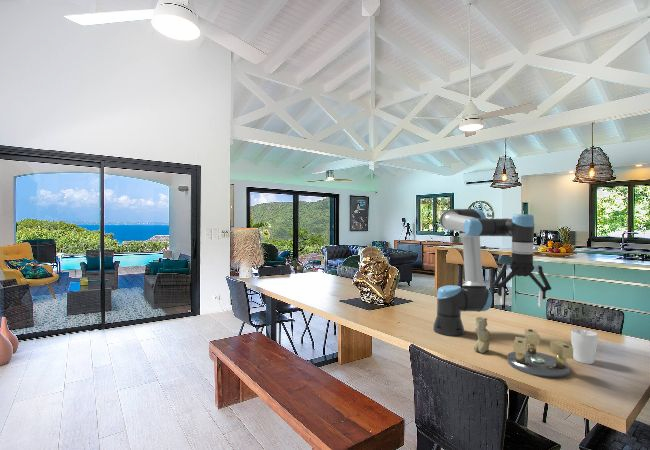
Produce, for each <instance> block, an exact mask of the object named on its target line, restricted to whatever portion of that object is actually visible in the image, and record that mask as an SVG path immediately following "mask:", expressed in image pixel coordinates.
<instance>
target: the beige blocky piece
mask: <svg viewBox="0 0 650 450" xmlns="http://www.w3.org/2000/svg"><path fill="white" fill-rule="evenodd" d="M524 338H527V352H528V353H529V354H536V352H537V346H540V345H541V335H540V334H539V332H537V330H536V329H531V328H527V329H524Z"/></svg>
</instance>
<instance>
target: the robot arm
mask: <svg viewBox="0 0 650 450" xmlns="http://www.w3.org/2000/svg"><path fill="white" fill-rule="evenodd" d="M439 223H440V226H441V227H442V228H444V229H445V230H448V231H458V234H459V236H460V237H461V238H462V251H463V253H462V254H463V269H464V281H465V282H464V283H463V284H462V287H461V286H459V285H443V286H440V287H439V288H438V289H437V292H436V293H437V295H436V317H435V320H434V322H433V332H435V333H437V334H440V335H442V336H443V335H444V336H453V337H457V336H458V337H459V336H463V335H464V334H465V327H464V324H463V321H462V316H461V315H462V314H461V313H462V312H477V313H479V312H487V311H489V310H490V307H491V306H492V303H493V295H492V292H491V290H490V289H489V288H487V284H486V283H484V281H483V280H484V278H483V265H482V262H483V261H482V252H481V251H482V250H481V249H482V248H481V237H511V252H512V253H511V257H510V258H511V261H510V264H506V263H502V265H501V269H500V271H499V273H498V275H497V276H496V277H495V279H494V281H493V283H492V285H493V286H494V287H496V288H497V296H499V297H500V302H499V303H500V304H501V305H502V306H503V305H505V303H504V301H505V288H504V287H505V286H506V285H507V283H508V282H509V281H511V280H512V279H513V278H514V277H515V276H517V277H529V278H530V279H531V280H532V282H534V283H535V284H536V285H537V286H538V288H539V289H538V294H537V295H538V299H537V300H538V301H537V307H539V309H543V300H546V294H547V293H546V292H547V291H551V290H552V287H551V285H550V283H549V281H548V279H547V278H546V275H545V273H544V271H543V266H542V265H540V264H538V265H534V254H533V253H534V241H535V240H534V236H535V217H534V215H533V214H530V213H529V214H527V213H526V214H523V213H522V214H519V213H518V214H517V213H516V214H513V215H512V217H511V218H509V217H508V218H505V217H504V218H487V217H486V215H485V212H484V211H483V210H481V209H475V208H451V209H448V210H445V211H444V212H443V213H441V215H440V218H439ZM509 269H511V271H510V272H509V273H508V275H506V277H504V279H502V278H503V276H504V275H505V273H506V271H507V270H509ZM533 271H536V272H538V275H539V276H540V279H541V281H542V283H543V284H544V285H543V284H542V283H541V282H540V281H539V280H538V279H537V277H536V276H535V275H534V274H533V273H532V272H533Z"/></svg>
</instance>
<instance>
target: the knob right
mask: <svg viewBox="0 0 650 450" xmlns="http://www.w3.org/2000/svg"><path fill="white" fill-rule="evenodd" d="M549 351H550V352H551V353H553V354H555V357H556V366H557V367H558V368H563V369H565V368H566V363H567V359H574V357H573V347H572V345H569V344H567V343H566V342H563V341H562V340H550V341H549Z"/></svg>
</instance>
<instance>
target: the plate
mask: <svg viewBox="0 0 650 450" xmlns="http://www.w3.org/2000/svg"><path fill="white" fill-rule="evenodd" d="M507 363H508V365H509V366H511V367H512V368H514V369H515V370H517V371H519V372H521V373H525V374H527V375H530V376H535V377H540V378H547V379H563V378H567V377H568V376H569V375H570V365H569V364H568V363H567V362H566V368H565V369H563V368H558V367H557V366H556V356H554V355H551V354H547V353H541V352H537V351H536V354H529V353H528V352H527V351H526V354H525V363H524V364H520V363H517V362H516V352H514V351H511V352H509V353H508V354H507ZM562 377H563V378H562Z"/></svg>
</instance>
